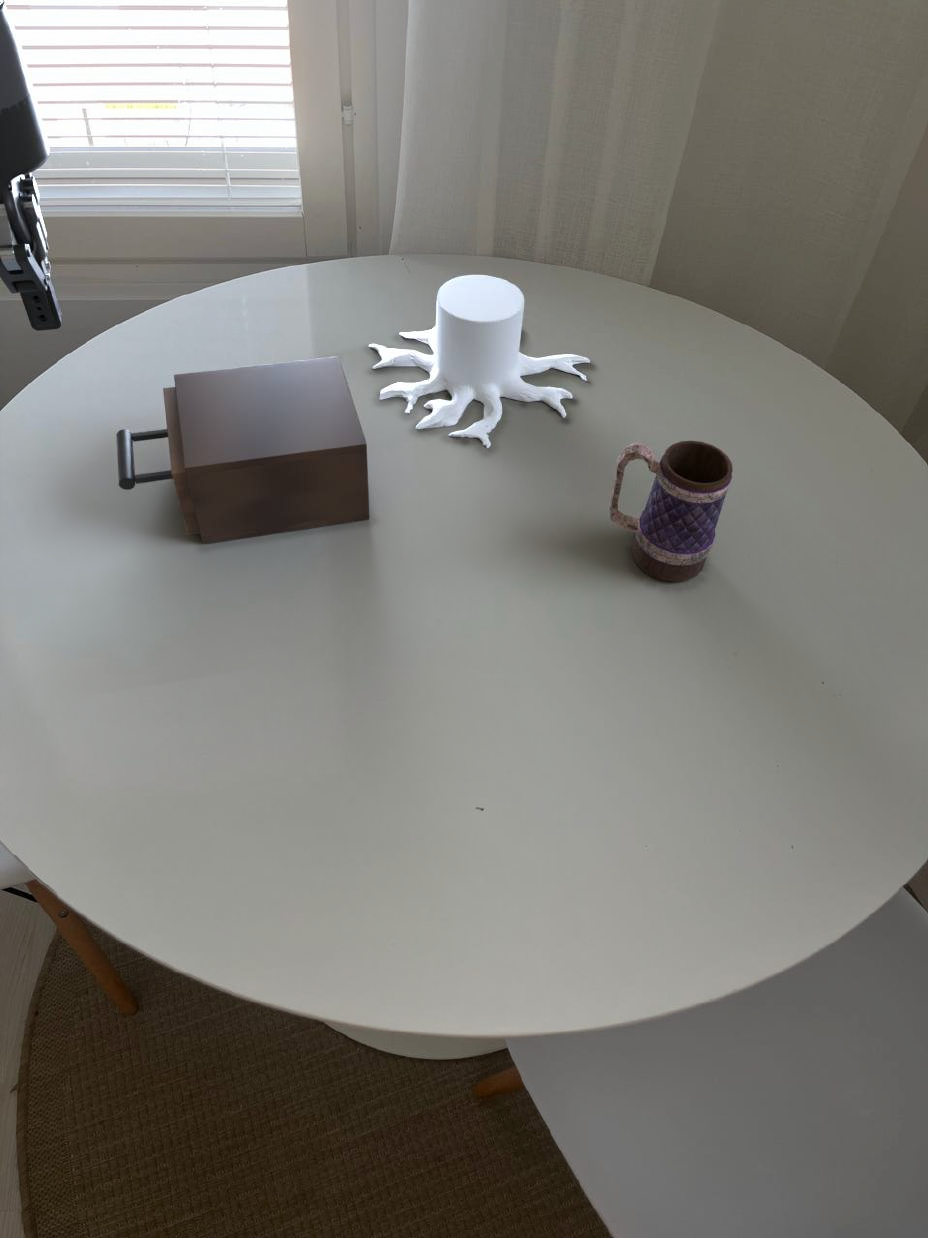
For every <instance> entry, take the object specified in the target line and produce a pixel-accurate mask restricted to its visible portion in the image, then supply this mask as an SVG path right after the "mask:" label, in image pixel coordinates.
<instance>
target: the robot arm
mask: <svg viewBox="0 0 928 1238" xmlns="http://www.w3.org/2000/svg"><path fill="white" fill-rule="evenodd" d="M48 140H49V139H48V136H47V133H46V130H45V126H44V122H43V119H42V115H41V111H40V108H39V105H38V101H37V97H36V94H35V90H34V87H33V83H32V80H31V76H30V73H29V69H28V65H27V62H26V58H25V55H24V51H23V48H22V44H21V41H20V38H19V36H18V33H17V30H16V28H15V26H14V23H13V21H12V18H11V16H10V13H9V11H8V9H7V5H6V2H5V0H0V279H1V281H2V282H3V284H4V285H5V286H6V288H7V289H8V290H9V292H10V293H11V294H13V295H14V294H19V295H20V297H21V301H22V303H23V307H24V310H25V312H26V316H27V318H28V321H29V324H30V327H31V328H32V330H34V331H38V332H39V331H50V330H51V331H52V330H58V329H60V328H61V327H62V311H61V308H60V305H59V301H58V299H57V296H56V293H55V289H54V286H53V283H52V281H51V280H52V279H51V270H52V267H51V263H50V261H49V260H48V257H47V256H48V255H49V250H50V248H49V244H48V242H47V237H48V232H47V229H46V226H45V222H44V219H43V216H42V212H41V208H40V205H39V203H40V191H39V189H38V185H37V182H36V179H35V177H34V175H32V173H33V172H35V171H37V170H38V169H40V168H41V167H43V166H44V164H46V162H47V161H48V159H49V157H50V152H51V149H50V143H49V141H48Z"/></svg>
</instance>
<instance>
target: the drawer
mask: <svg viewBox="0 0 928 1238" xmlns="http://www.w3.org/2000/svg"><path fill="white" fill-rule="evenodd" d="M162 392H163V393H162V394H163V402H164V403H163V404H164V412H165V413H164V414H165V421H166V428H163V429H156V430H148V431H140V432H131V431H130V430H128V429H119V430H118V431H117V432H116V434H115V435H116V436H115V437H116V455H117V456H116V457H117V476H118V486H119V488H120V489H122V490H125V491H129V490H132V489H134V488H135V487H136V484H145V483H151V482H159V481H167V480H168V481H169V480H172V481H173V485H174V488H175V492H176V496H177V500H178V504H179V507H180V511H181V517H182V519H183V524H184V527H185V531H186V535H187V536H189V535H196V534H200V530H199V526H198V521H197V517H196V513H195V509H194V505H193V501H192V496H191V492H190V488H189V484H188V480H187V475H186V472H185V467H184V458H183V449H182V441H181V432H180V424H179V415H178V407H177V398H176V389H175V386H170V387H163V388H162ZM165 438H167V439H168V440H167V441H168V442H167V443H168V451H169V461H170V470H169V469H168V470H162V471H161V470H160V471H155V472H146V473H138V474H136V472H135V470H136V469H135V456H134V455H135V454H134V442H142V441H151V440H158V439H165Z"/></svg>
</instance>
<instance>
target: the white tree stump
mask: <svg viewBox="0 0 928 1238" xmlns="http://www.w3.org/2000/svg"><path fill="white" fill-rule="evenodd" d="M435 310H436V312H435V325H434V326H433V328H432V329H428V330H421V331H418V330H415V331H404V332H403V331H401V332H399V335H400V336H402V337H403V338H405V339H414V340H416V341H419V342H421V343H424V344H426V345H428V346H429V347H430V348H431V351H432V352H433V354H426V353H424V352H423V353H422V352H420V351H417V350H414V349H405V348H404V349H400V348H394V347H393V348H392V347H391V348H388V347H386V345H380V344H377V343H371V344H368V347H369V348H372V349H374V350H375V351H376V352H377V353H378V355H379V357H380V358H381V361H379V362H378V363H377V364H375V365H373V366H372V367H371V369H372V370H376V369H377V370H378V369H381V368H386V367H419V368H421V369H423V370H424V371H426V372H427V373H428V374H429V379H426V380H422V381H419V382H416V381H415V382H402V381H397V382H396V383H391V384H390V385H388V386H386V387H384V388H382V389H381V390H380V394H379V397H378V400H380V401H381V400H385V399H389V398H392V397H393V398H396V397H399V398H403V399H405V402H407V405H406V408H405V410H404V413H405V414H411V410H413V409H414V405H415V404H416V403H417V400H418V398H419V397H422V396H425V395H428V394H435V393H438V392H443V391H447V392H448V393H449V395H450V396H451V400H445V399H441V398H438V399H432V400H427V402H426V403H425V404H423V407H424V408H425V409H426V410H429V409H430V410H432V411H431V413H430V414H429V415H426V416H424V417H423V418H422V419H421V420H420V421H419V422H418V424H416V426H415V430H424V429H435V428H443V427H452V426H455V425H456V424H457V423H458V422H459V419H461V418H462V416H463V414H464V412H465V410H466V409H467V407H468V405H469V404H470V403H471V402H473V400H475V401H478V402H479V403H482V404H483V405H484V406H483V418H482V419H481V420H479V421H476V422H473V423H472V425H470V426H468V427H467V428H466V429H463V430H462V429H461V430H456V431H454V432H453V431H452V432H450V433H449V434H447V436H448V437H452V438H457V437H458V438H465V437H466V438H469V439H474V438H476V439H478V440H480V441H481V442H482V443H481V446H484V447H485V448H486V449H488V448H490V447H491V445H492V444H491V441H490V438H489V437H490V435H489V433H491V432H492V430H493V429H495V428H496V426H497V425H498V422H499V421H500V420H501V419H502V415H503V405H502V400H501V398H507V399H510V400H511V399H512V400H515V401H521V402H526V403H531V402H544V403H545V404H547V405H548V406H550V408H553V409H555V411H558V413H559V414H560V415H561V417H562V418H563V419H565V418H566V416H567V412H566V410H565V407H564V406H563V405H562V404H561V400H562V399H573V397H574V396H573V394H572V393H571V392H570V391H569V390H566V389H564V388H563V387H554V386H537V385H533V384H530V383H528V382H525V381H524V380H523V379H522V378H521V377H523V376H524V377H525V376H529V375H535V374H541V373H544V372H545V371H548V370H550V369H555V370H559V371H563V372H565V373H569V374H572V375H578V376H580V378H581V379H582V380H583V381H585V382H588V379H587V375H585V374H583V373H582V372H580V371H578V370H577V369H576V368H575V367H573V365H578V364H590V363H591V360H590V359H589V358H588V357H585V356H581V355H578V354H573V353H567V354H566V353H564V354H555V355H547V356H543V357H532V356H528V355H526V354H523V353H522V352H520V347H521V337H522V329H523V327H522V326H523V319H524V311H525V296H524V293H523V292H522V291H521V290H520V288H519V287H518V286H517V285H515V284H514V283H512V282H509V281H508V280H506V279H503V278H501V277H497V276H493V275H486V274H466V275H459V276H456V277H453V278H451V279H450V280H447V281H445V282H444V283H443V284H442V285H441V287H439V288H438V290H437V293H436V309H435Z"/></svg>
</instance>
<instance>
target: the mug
mask: <svg viewBox="0 0 928 1238" xmlns="http://www.w3.org/2000/svg"><path fill="white" fill-rule="evenodd" d="M635 460H643V462H645V463H646V464H647V467H648V471H649V472H651V473H654V474H656V475H655V477H654V479H653V483H652V486H651V489H650V492H649V495H648V498H647V501H646V504H645V507H644V509H643V510H642V512H641V514H640V516H639V518H636V517H634V516H630V515H626V514H624V513H623V512H622V511H620V510H619V498H620V494H621V489H622V485H623V481H624V480H623V479H624V475H625V468H626V467H627V466H628V464H629V463H630V462H633V461H635ZM733 470H734V469H733V462H732V461H731V459H730V458H729V456H728V455H727V454H726V453H725V452H724V451H723V450H721V449H720V448H718V447H717V446H715V445H713V444H710V443H708V442H704V441H700V440H699V441H698V440H683V441H682V440H681V441H678V442H676V443H673V444H671V445H670V446H669V447H667V448H666V449H665V452H664V453H663V455H662V457H661V459H660V461H658V460H656V459H655V454H654V451H653V450H652V449H651V448H649V446H647V445H645V444H643V443H641V442H635V443H632V444H629V445H627V446H626V447H625V448H624V449H623V450H622V451H621V453H620V454H619V455H618V457H617V460H616V468H615V477H614V481H613V486H612V490H611V495H610V499H609V502H608V503H609V504H608V513H609V518H610V521H611V522H613V523H614V524H615V525H617V526H618V527H621V528H623V529H626V530H627V531H630V532H633V533H635V537H634V539H633V543H632V545H631V555H632V557H633V560H634V562H635V563H636V565H637V566H639V568H640V569H641V570H642V571H644V572H645V573H647V574H648V575H650V576H651V577H653V578H656V579H659V580H661V581H666V582H685V581H688V580H691V579H694V578H695V577H697V576H698V575H699V574H700V573H701V572H702V571H703V569H704V566H705V563H706V561H707V557H708V556H709V555H710V552H711V551H712V548H713V545H714V541H715V539H716V529H717V525H718V522H719V519H720V516H721V512H722V510H723V505H724V502H725V499H726V495H727V493H728V490H729V488H730V487H731V483H732V479H733V472H734V471H733Z"/></svg>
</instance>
